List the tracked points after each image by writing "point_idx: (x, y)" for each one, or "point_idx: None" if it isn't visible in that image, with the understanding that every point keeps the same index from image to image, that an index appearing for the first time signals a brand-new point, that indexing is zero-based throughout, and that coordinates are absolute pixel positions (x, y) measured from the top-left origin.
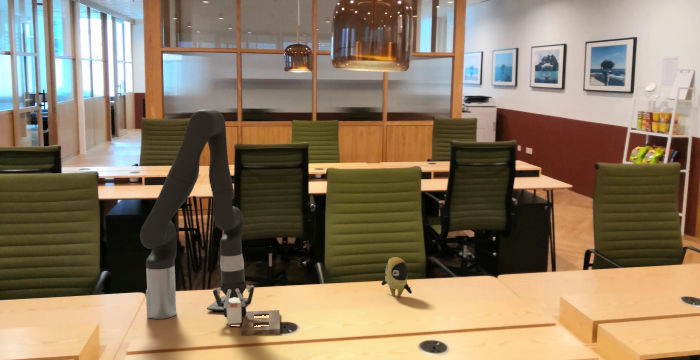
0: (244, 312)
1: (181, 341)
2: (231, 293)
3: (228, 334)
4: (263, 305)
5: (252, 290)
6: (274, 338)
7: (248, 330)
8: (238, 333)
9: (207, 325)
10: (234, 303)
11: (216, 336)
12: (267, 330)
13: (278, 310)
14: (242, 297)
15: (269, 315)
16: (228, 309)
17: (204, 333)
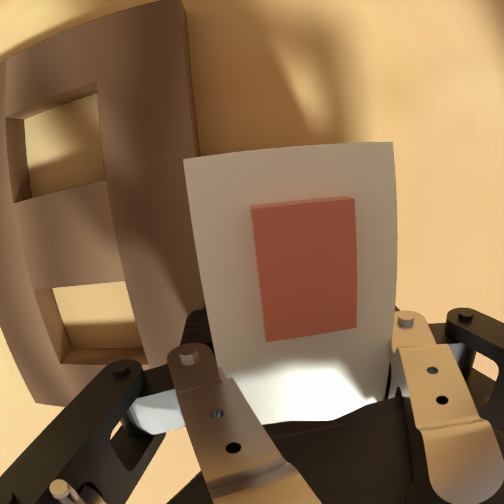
0: (200, 324)
1: (500, 8)
2: (394, 459)
3: (287, 30)
4: (170, 491)
5: (12, 482)
6: (7, 20)
7: (126, 9)
8: (214, 45)
9: (455, 221)
10: (307, 313)
11: (362, 11)
12: (17, 57)
13: (36, 397)
14: (182, 415)
15: (43, 326)
16: (365, 143)
17: (446, 77)
